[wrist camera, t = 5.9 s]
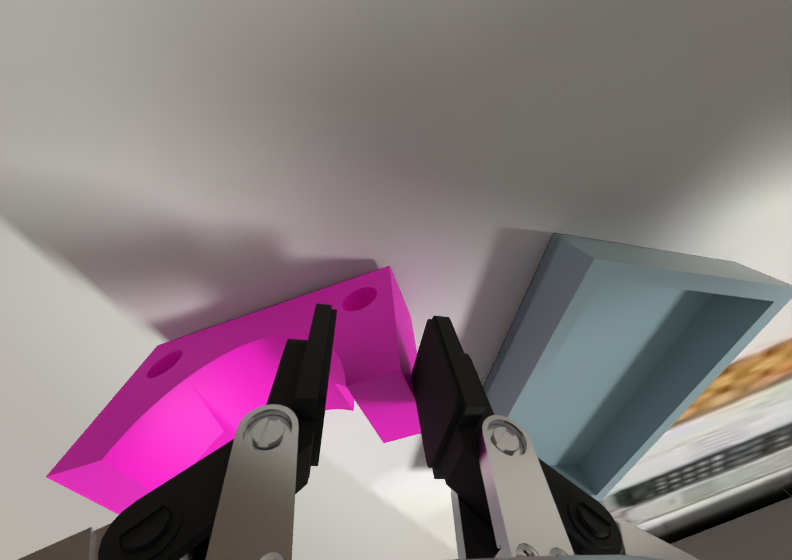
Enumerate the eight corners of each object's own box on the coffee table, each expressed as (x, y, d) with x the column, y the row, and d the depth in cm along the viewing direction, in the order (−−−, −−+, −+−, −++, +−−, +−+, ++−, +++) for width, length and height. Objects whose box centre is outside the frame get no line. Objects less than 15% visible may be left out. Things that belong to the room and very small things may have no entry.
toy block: (221, 405, 22) (159, 535, 15) (157, 345, 19) (46, 476, 12) (422, 344, 20) (445, 461, 14) (389, 265, 17) (400, 370, 10)
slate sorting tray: (735, 262, 21) (800, 288, 18) (576, 462, 31) (600, 500, 28) (553, 233, 18) (594, 258, 15) (447, 463, 29) (459, 505, 26)
